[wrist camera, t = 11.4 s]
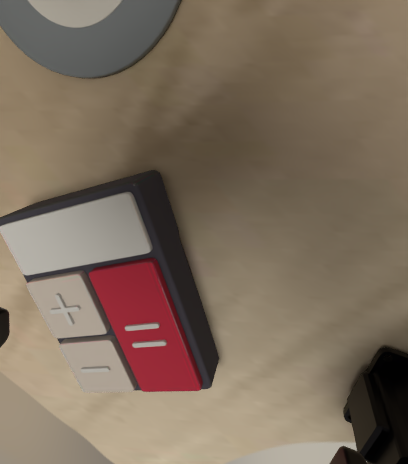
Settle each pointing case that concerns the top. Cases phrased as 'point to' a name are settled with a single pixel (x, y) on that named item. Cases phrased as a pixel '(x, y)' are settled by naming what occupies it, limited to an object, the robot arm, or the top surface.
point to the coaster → (86, 32)
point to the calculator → (115, 286)
